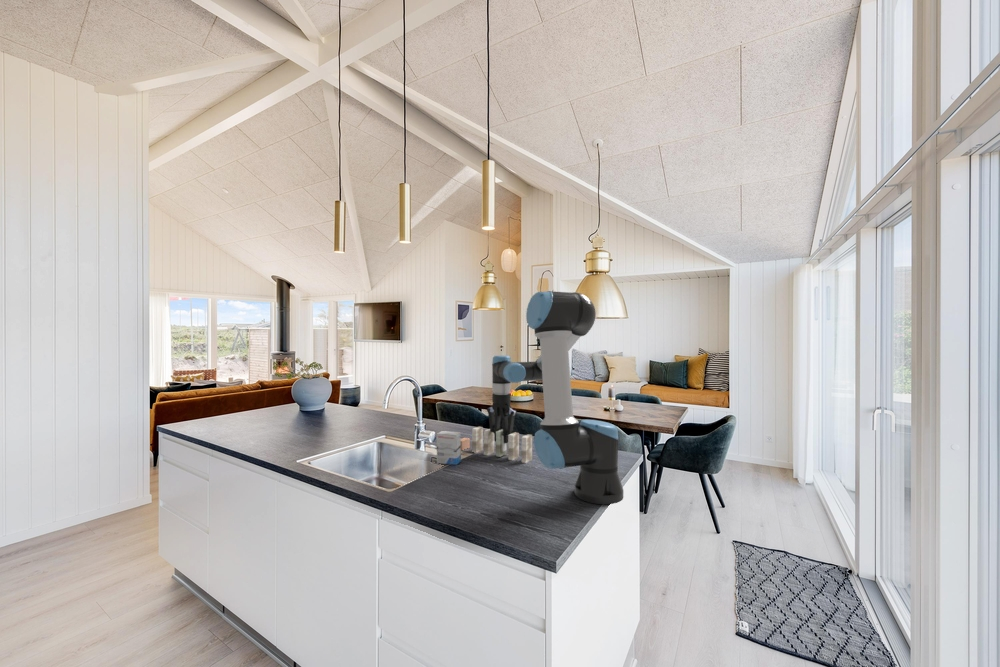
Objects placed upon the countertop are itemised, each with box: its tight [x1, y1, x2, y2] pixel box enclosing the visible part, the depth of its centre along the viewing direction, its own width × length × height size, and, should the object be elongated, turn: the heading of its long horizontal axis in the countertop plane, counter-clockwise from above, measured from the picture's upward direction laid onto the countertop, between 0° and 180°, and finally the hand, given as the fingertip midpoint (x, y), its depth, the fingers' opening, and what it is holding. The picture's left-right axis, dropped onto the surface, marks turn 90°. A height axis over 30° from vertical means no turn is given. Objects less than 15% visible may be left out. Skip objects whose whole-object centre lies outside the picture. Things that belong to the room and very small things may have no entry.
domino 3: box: [495, 428, 507, 457], centre depth 170 cm, size 5×2×10 cm, turn 148°
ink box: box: [436, 430, 462, 466], centre depth 162 cm, size 9×5×12 cm, turn 73°
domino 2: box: [483, 428, 495, 456], centre depth 173 cm, size 5×2×10 cm, turn 148°
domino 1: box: [471, 426, 484, 454], centre depth 177 cm, size 5×2×10 cm, turn 148°
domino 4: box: [508, 431, 520, 462], centre depth 167 cm, size 5×2×10 cm, turn 148°
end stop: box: [461, 437, 471, 451], centre depth 181 cm, size 6×3×4 cm, turn 148°
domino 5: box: [521, 434, 533, 464], centre depth 164 cm, size 5×2×10 cm, turn 148°
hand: (501, 450), depth 170 cm, fingers closed on domino 3, 2 cm apart
